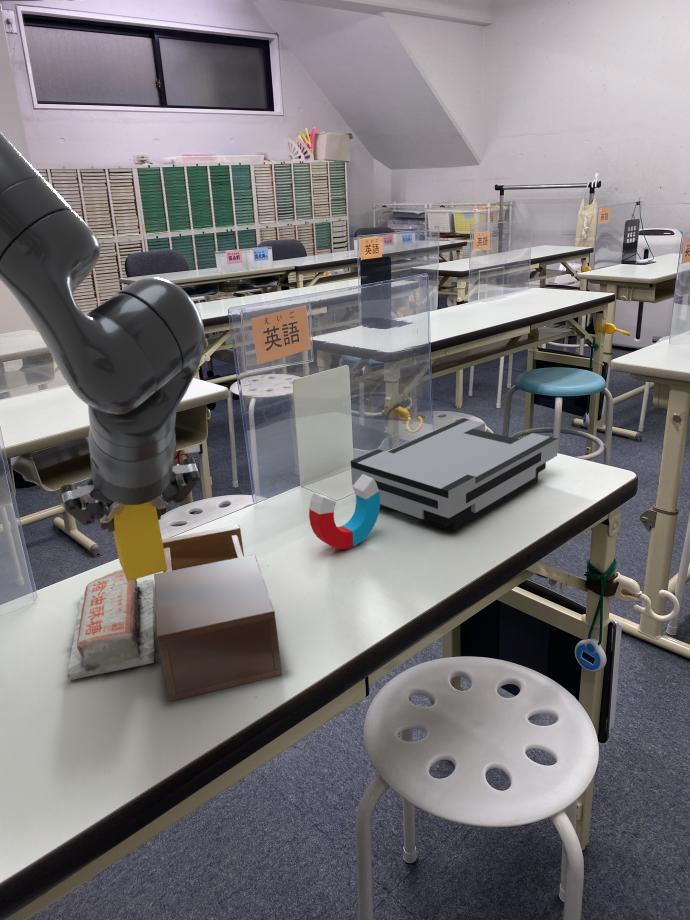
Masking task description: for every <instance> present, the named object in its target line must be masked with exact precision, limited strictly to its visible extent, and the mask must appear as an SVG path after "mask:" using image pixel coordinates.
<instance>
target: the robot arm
mask: <svg viewBox="0 0 690 920" xmlns="http://www.w3.org/2000/svg"><path fill="white" fill-rule="evenodd" d="M100 255H101V243H100V241H99V239H98V237H97V235H96V234H95V233H94V231H93V230H92V229H91V227H90V226H89V225H88V224H87V223H86V221H84V219H83V218H82V217H81V216H80V215H79V214H78V213H77V212H76V211H75V210H74V209H73V208H72V207H71V205H70V204H68V202H67V201H66V200H65V199H64V198H63V197H62V196H61V195H60V194H59V192H58V191H56V190H55V189H54V188H53V186H52V185H51V184H50V183H49V182H48V181H47V180H46V179H45V178H44V177H43V176H42V175H41V174H40V173H39V171H37V169H36V168H35V167H34V166H33V165H32V164H31V163H30V162H29V161H28V160H27V159H26V158H25V157H24V156H23V155H22V153H21V152H20V151H19V150H18V149H17V148H16V147H15V146H14V145H13V143H11V141H10V140H9V139H8V138H7V137H6V135H5V134H4V133H3V132H2V131H1V130H0V282H1V283H2V284H3V285H4V286H5V287H6V288H7V289H8V290H9V291H10V293H11V294H12V295H13V296H14V298H15V299H16V300H17V302H18V303H19V305H20V306H21V308H22V309H23V311H24V312H25V314H26V315H27V317H28V318H29V320H30V321H31V322H32V324H33V325H34V328H35V329H36V331H37V332H38V334H39V335H40V337H41V339H42V341H43V342H44V344H45V346H46V347H47V350H48V351H49V353H50V355H51V357H52V359H53V361H54V362H55V365H56V366H57V368H58V370H59V372H60V374H61V376H62V378H63V379H64V380H65V382H66V383H67V385H68V386H69V388H70V389H71V391H72V392H73V393H74V394H75V396H76V397H78V398H79V400H81V401H82V402H83V403H84V404H86V405H87V410H88V420H89V421H88V422H89V429H88V437H87V439H88V441H87V442H88V450H89V459H90V460H89V462H90V468H91V477H89V479H88V481H87V482H86V483H87V485H83V486H74V485H73V484H69V483H68V484H64V485H62V486H60V493H61V497H62V502H63V505H64V510H65V511H66V513H68V514H69V515H70V516H72V517H73V518H74V519H75V520H76V521H78V522H79V523H80V524H81V525H83V526H89V525H92V524H94V523H95V520H98V522H99V526H100V529H101V530H102V531H104V530H107V532H108V533H113V531H115V529H114V516H117V515H120V513H121V512H122V510H123V509H124V507H125V506H128V505H139V504H144V503H147V502H150V504H151V505H152V506H153V507H154V506H156V511H157V516H158V521H160V520H161V518H162V516H164V515H165V514H166V513H167V508H168V507H169V503H170V502H172V501H173V502H174V503H176V504H178V503H182V502H184V501H185V500H186V499H187V497H188V496H189V495H190V493H191V492H192V491H193V489H194V488H195V487H196V486H197V484H198V483H199V481H200V480H201V476H200V472H199V470H198V467H197V464H196V461H195V458H194V457H192V456H189V457H186V458H183V460H181V463H180V464H179V463H178V464H176V465H174V461H175V454H176V452H177V437H176V419H177V410H178V407H179V406H180V404H181V402H182V400H183V399H184V397H185V395H186V394H187V392H188V389H189V388H190V385H191V383H192V381H193V379H194V377H195V375H196V373H197V371H198V369H199V367H200V364H201V362H202V358H203V354H204V350H205V342H206V333H205V326H204V321H203V318H202V316H201V313H200V311H199V309H198V306H197V304H196V303H195V302H194V300H193V299H192V298H191V296H190V295H189V294H188V293H187V292H186V291H185V290H184V289H183V288H182V287H180V286H179V285H178V284H176V283H174V282H172V281H169V280H167V279H164V278H160V277H145V278H141V279H138V280H136V281H133V282H131V283H129V284H127V285H126V286H125V287H123V288H122V289H120V290H119V291H118V292H116V293H115V294H113V295H112V296H110V297H109V298H108V299H106V300H105V301H104V302H102V303H101V304H99V305H97V306H96V307H95V308H93V309H92V310H90V311H89V312H88V313H85V312H84V311H83V310H82V309H81V307H79V305H78V304H77V301H76V299H75V297H74V292H75V291H76V290H77V289H78V288H79V286H80V285H81V284H82V283H83V282H84V281H85V280H86V279H87V278H88V277H89V276H90V274H91V272H92V271H93V270H94V268H95V267H96V266H97V263H98V262H99V259H100ZM90 498H91V499H93V500H95V502H90V500H89V499H90Z"/></svg>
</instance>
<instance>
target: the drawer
mask: <svg viewBox="0 0 690 920" xmlns="http://www.w3.org/2000/svg"><path fill="white" fill-rule="evenodd" d="M242 539H243V538H242V531H241V527H240V525H232V526H227V527H222V528H217V529H216V528H215V529H211V530H204V531H200V532H195V533H188V534H184V535H178V536H171V537H168V538H167V537H166V538H162V543H163V548H164V553H165V559H166V564H167V570H166V571H162V573H163V572H168V571H173V570H178V569H183V568H188V567H194V566H199V565H204V564H209V563H214V562H219V561H224V560H229V559H234V558H240V557H245V553H244V545H243V540H242Z"/></svg>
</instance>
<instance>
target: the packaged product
mask: <svg viewBox="0 0 690 920" xmlns="http://www.w3.org/2000/svg"><path fill="white" fill-rule="evenodd" d="M155 636H156V601H155V582H154V579H148V580H143V581H139V582H138V581H137V579H134V580H131V581H127V579H126V577H125V574H124V572H123V569H120V570H115V571H113V572H111V573H108V574H106V575H104V576H102V577H99V578H96V579H94V580H92V581H91V582H89V583H88V584H87V585H86V586H85V590H84V591H83V594H81V595H80V601H79V605H78V612H77V617H76V622H75V628H74V633H73V637H74V638H73V641H72V646H71V651H70V653H71V654H70V657H69V662H68V668H67V675H66V677H67V678H68V679H69V680H77V679H82V678H86V677H87V678H88V677H91V676H96V675H102V674H107V673H111V672H117V671H122V670H126V669H127V670H128V669H131V668H137V667H140V666H144V665H145V666H146V665H150V664H154V662H155V650H156V649H155V648H156V647H155Z"/></svg>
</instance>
